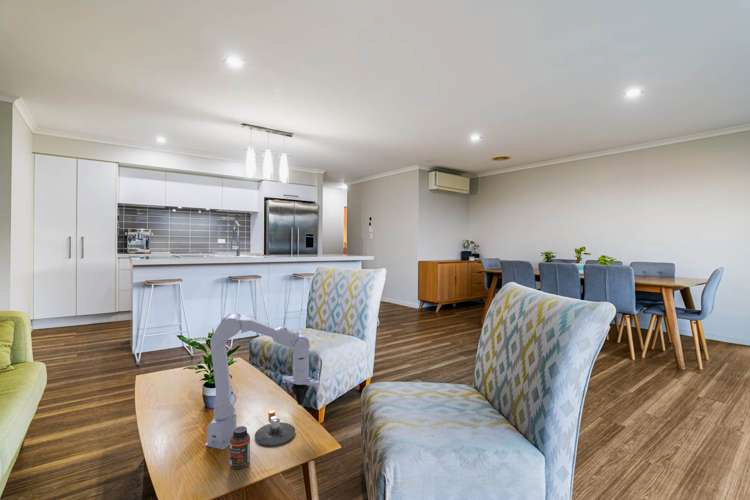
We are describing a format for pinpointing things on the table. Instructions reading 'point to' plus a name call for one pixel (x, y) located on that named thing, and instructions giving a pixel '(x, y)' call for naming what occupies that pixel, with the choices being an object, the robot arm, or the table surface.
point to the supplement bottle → (239, 448)
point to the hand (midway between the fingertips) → (300, 403)
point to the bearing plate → (274, 435)
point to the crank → (274, 422)
